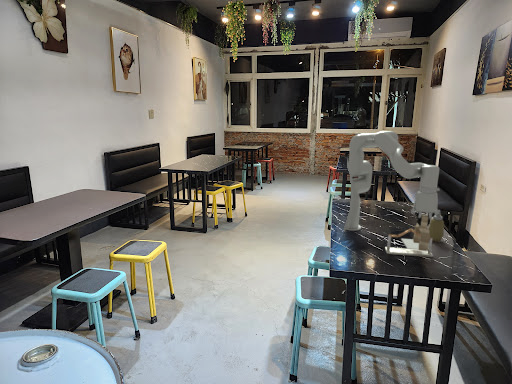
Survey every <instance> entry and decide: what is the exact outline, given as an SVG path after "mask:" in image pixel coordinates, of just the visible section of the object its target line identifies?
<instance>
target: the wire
mask: <svg viewBox="0 0 512 384" xmlns="http://www.w3.org/2000/svg"><path fill="white" fill-rule="evenodd" d="M414 230H415V229H413V228H409V229H407V230H405V231H403V232H401V233H399V234H388V236H387V244H386V246H385V247H384V250H385V253H386V254H387V255H399V256H412V257H413V256H414V257H424V258H425V257H426V258H433V257H434V255H433V253H432V252H431V251H432V245H433V241H432V238H431V237H430V239H429V246H428V251H424V250H418V249H407V248H402V247H391V244H392V243H391V240H392V238H400V237H402V236H404V235H406V234H407V233H410V232H411V233H413V235H414V234H416V235H417V236H419V237H420V234H418V233H417V232H416V231H414Z"/></svg>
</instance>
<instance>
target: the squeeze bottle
mask: <svg viewBox="0 0 512 384" xmlns="http://www.w3.org/2000/svg"><path fill="white" fill-rule="evenodd" d="M438 211H439V214H437V215H434V216H433V217H432V218H431V219H430V224H429V226H428V230H429V233H430V237H431V238H432V242H441V241H442V239H443V237H444V232H445V231H444V230H445V229H444V228H445V221H444V220H443V218H444V217H443V216H442V215H441V210H440V209H438Z"/></svg>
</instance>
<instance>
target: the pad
mask: <svg viewBox="0 0 512 384" xmlns="http://www.w3.org/2000/svg"><path fill="white" fill-rule="evenodd" d="M400 240H401V241H402V244H403V245H404V246H405V247H406V248H405V249H418V247H419V243H414V242H413V238H412V239H411V238H400ZM418 250H419V249H418Z"/></svg>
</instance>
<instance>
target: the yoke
mask: <svg viewBox="0 0 512 384" xmlns="http://www.w3.org/2000/svg"><path fill="white" fill-rule="evenodd" d="M421 218H422V220H421V226H419V225H418V223H417V222H416V223H415V224H416V225H414V229H413V230H414V231H416V232H417V233H418V234H420V237H419V236H417V235H416V234H414V233H413V237H412V239H413V242H414V243H419V247H418V249H419V250H424V251H428V246H429V239H430V233H429V228H428V226H427V224H428V216H427V214H422V215H421Z"/></svg>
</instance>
